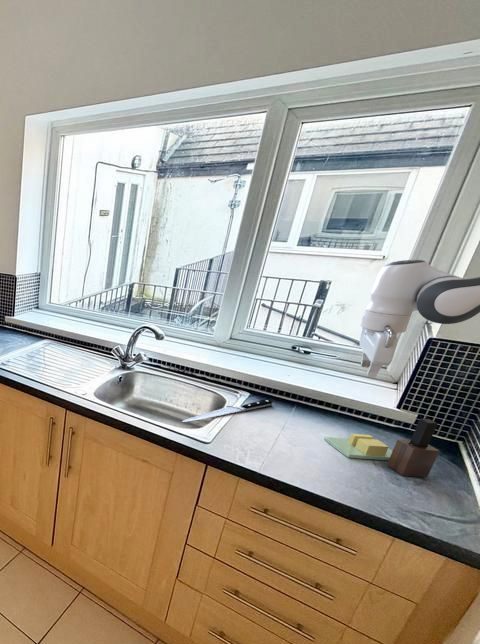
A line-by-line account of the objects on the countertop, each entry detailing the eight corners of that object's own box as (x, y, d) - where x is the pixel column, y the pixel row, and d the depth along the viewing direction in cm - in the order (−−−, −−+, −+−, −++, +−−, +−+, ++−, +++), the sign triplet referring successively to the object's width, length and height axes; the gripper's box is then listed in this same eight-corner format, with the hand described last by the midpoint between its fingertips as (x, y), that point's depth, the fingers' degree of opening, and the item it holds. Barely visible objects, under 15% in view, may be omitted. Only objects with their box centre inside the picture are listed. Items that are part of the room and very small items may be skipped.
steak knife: (168, 420, 139) (169, 413, 139) (259, 401, 151) (260, 395, 151) (181, 426, 135) (182, 420, 134) (273, 407, 147) (274, 400, 146)
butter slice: (366, 443, 123) (369, 434, 122) (370, 446, 122) (373, 437, 120) (347, 442, 123) (351, 433, 122) (351, 445, 122) (355, 436, 121)
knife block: (410, 466, 114) (422, 440, 111) (427, 477, 109) (439, 450, 106) (386, 464, 114) (397, 439, 112) (402, 475, 110) (413, 449, 107)
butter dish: (374, 443, 125) (375, 440, 125) (402, 461, 116) (404, 458, 116) (324, 439, 127) (325, 436, 126) (348, 457, 118) (349, 454, 117)
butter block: (373, 448, 120) (377, 439, 119) (385, 456, 117) (388, 446, 116) (354, 447, 121) (358, 438, 120) (365, 454, 117) (369, 445, 116)
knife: (409, 468, 113) (432, 419, 107) (417, 474, 110) (440, 423, 105) (395, 467, 113) (417, 418, 108) (403, 473, 111) (425, 422, 106)
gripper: (411, 332, 101) (391, 385, 106) (392, 317, 117) (375, 363, 122) (376, 329, 105) (358, 380, 109) (362, 314, 121) (347, 359, 125)
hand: (367, 371), depth 116 cm, fingers open, 8 cm apart
